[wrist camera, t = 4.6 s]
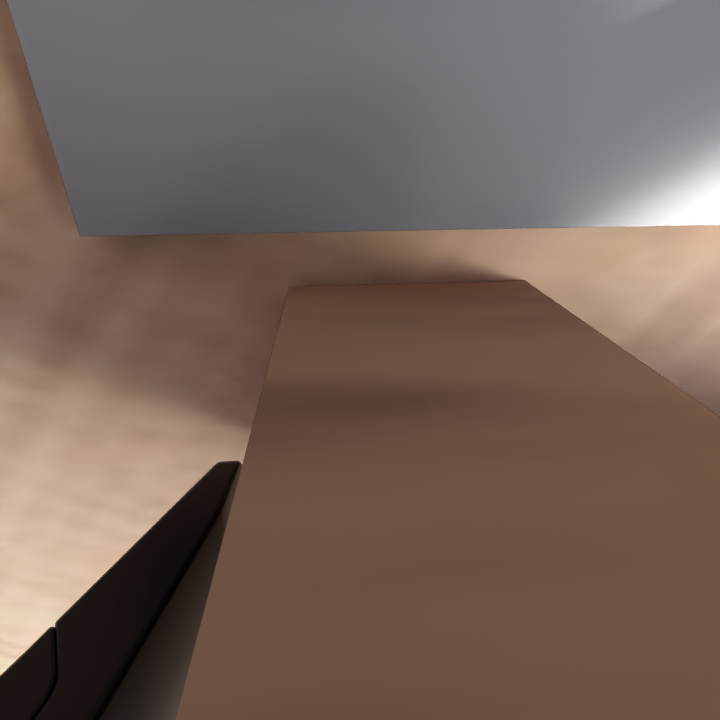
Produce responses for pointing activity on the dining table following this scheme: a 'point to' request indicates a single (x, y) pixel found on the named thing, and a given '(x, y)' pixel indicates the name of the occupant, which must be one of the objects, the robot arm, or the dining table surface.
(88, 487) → the dining table surface
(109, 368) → the dining table surface
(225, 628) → the wooden block
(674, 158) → the square frame on plate
